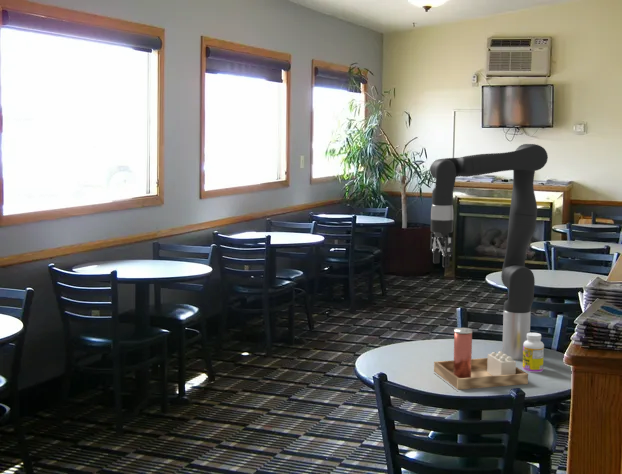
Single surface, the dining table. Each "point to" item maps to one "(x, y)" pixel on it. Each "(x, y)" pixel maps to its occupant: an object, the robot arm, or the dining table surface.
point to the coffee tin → (462, 352)
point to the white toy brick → (500, 364)
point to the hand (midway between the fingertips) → (441, 265)
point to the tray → (478, 375)
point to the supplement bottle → (533, 353)
